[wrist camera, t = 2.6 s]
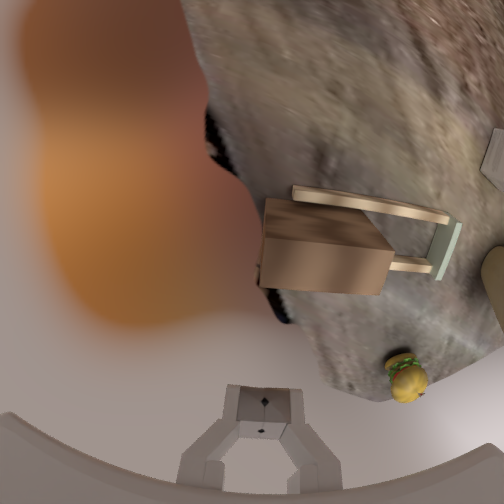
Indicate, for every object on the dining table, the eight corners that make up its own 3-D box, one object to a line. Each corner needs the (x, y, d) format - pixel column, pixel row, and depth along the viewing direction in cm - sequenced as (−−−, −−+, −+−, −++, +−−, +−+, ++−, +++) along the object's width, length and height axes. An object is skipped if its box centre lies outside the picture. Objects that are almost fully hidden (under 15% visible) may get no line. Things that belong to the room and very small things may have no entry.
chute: (283, 251, 35) (284, 260, 33) (293, 184, 31) (294, 189, 29) (423, 265, 35) (429, 273, 33) (441, 211, 31) (449, 217, 29)
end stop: (423, 265, 35) (435, 279, 31) (441, 211, 31) (456, 222, 27) (429, 265, 35) (440, 280, 31) (447, 212, 31) (462, 223, 27)
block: (262, 235, 34) (259, 286, 25) (265, 197, 32) (265, 237, 22) (352, 244, 34) (379, 295, 25) (360, 209, 32) (395, 251, 22)
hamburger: (376, 368, 47) (390, 417, 36) (385, 345, 43) (404, 397, 33) (408, 362, 46) (425, 408, 36) (419, 339, 43) (441, 387, 32)
